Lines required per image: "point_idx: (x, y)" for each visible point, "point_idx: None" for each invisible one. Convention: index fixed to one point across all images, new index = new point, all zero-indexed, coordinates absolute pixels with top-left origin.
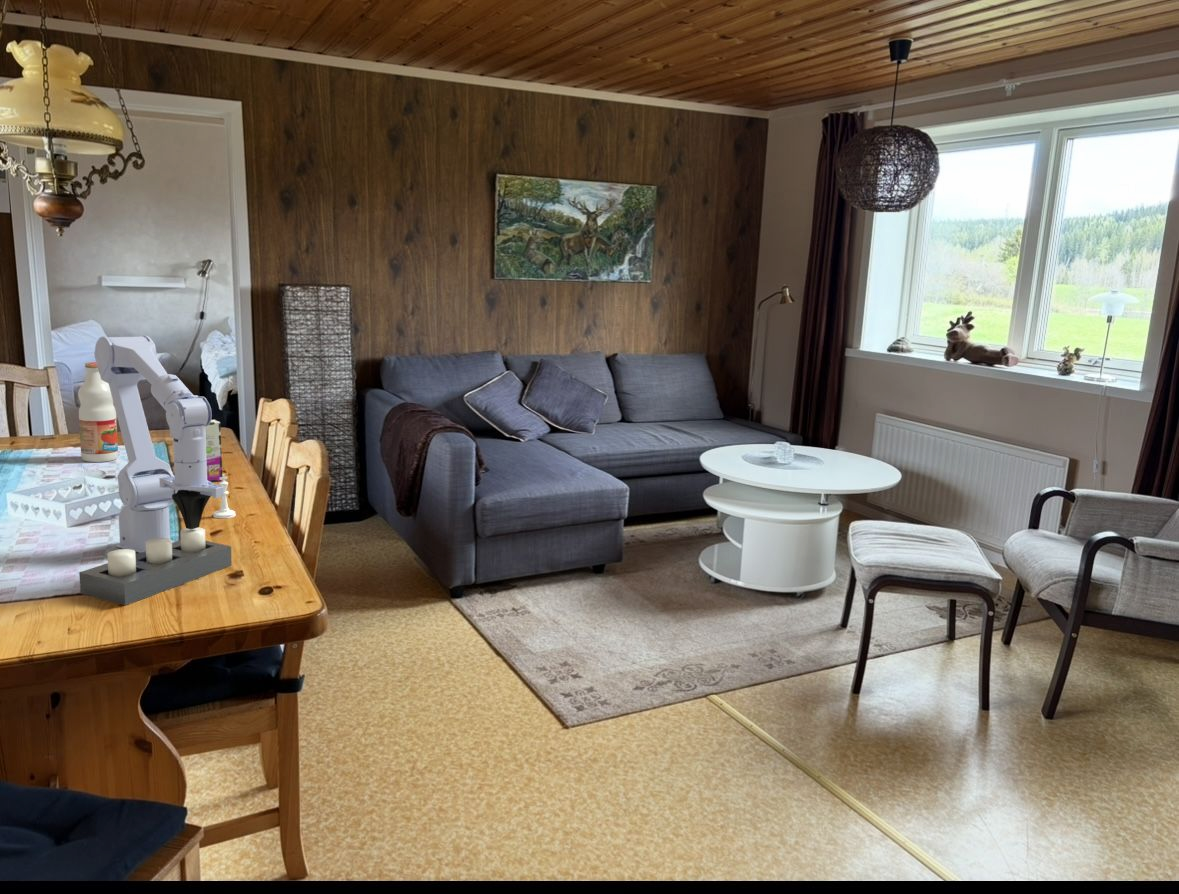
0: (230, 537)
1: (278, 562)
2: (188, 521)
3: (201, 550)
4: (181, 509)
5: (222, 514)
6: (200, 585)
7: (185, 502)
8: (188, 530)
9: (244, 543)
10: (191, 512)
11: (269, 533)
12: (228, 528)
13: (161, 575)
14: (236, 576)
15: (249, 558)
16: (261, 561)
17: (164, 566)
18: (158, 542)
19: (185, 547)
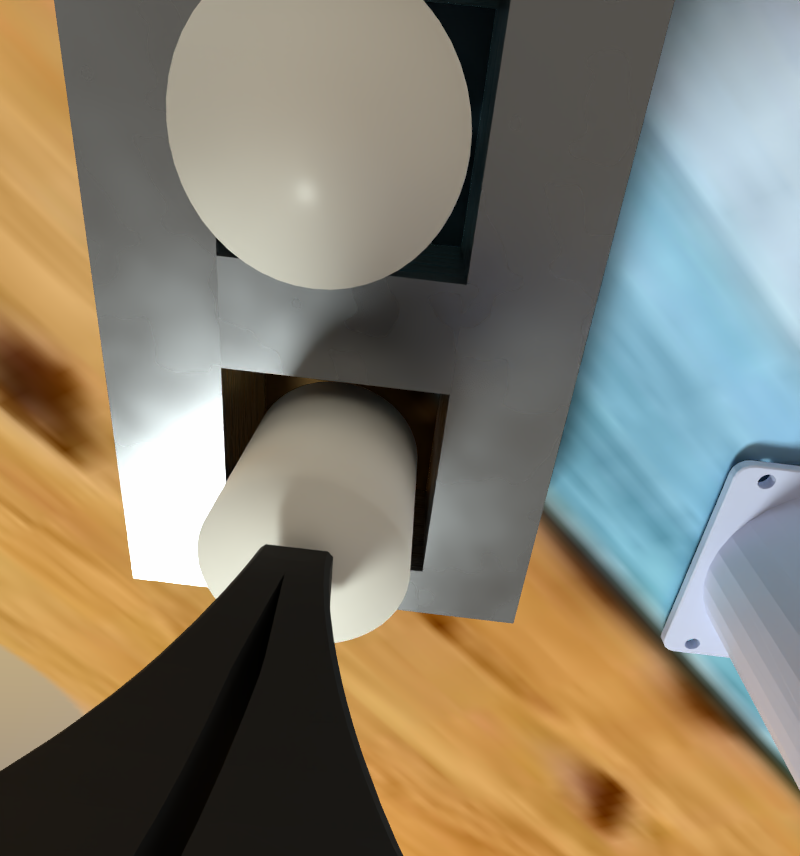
0: (499, 777)
1: (37, 609)
2: (248, 592)
3: (221, 444)
4: (301, 712)
5: None
6: (37, 141)
7: (72, 816)
8: (342, 559)
9: (382, 741)
10: (128, 683)
11: None
12: (587, 847)
13: None
14: (13, 373)
15: (198, 606)
16: (114, 594)
17: None
18: (285, 97)
19: (314, 410)
